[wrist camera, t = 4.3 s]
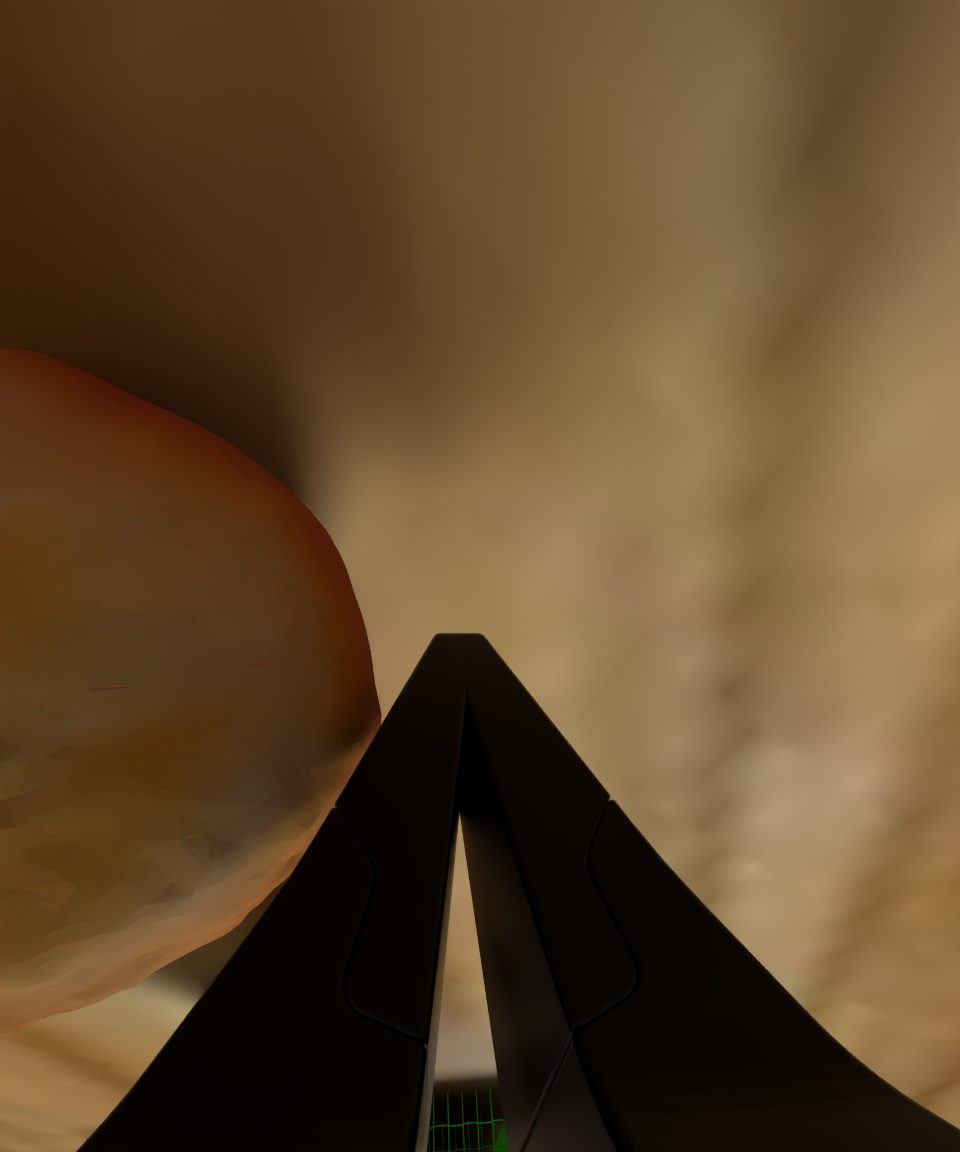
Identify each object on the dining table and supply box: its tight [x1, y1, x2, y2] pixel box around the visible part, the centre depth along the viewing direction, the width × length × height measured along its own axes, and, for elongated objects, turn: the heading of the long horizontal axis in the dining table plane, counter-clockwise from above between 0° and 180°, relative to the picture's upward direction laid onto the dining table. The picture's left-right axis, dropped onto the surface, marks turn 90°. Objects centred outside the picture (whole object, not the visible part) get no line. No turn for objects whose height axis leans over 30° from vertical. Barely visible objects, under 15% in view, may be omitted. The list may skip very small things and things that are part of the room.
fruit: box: [0, 348, 381, 1033], centre depth 8 cm, size 8×8×8 cm
